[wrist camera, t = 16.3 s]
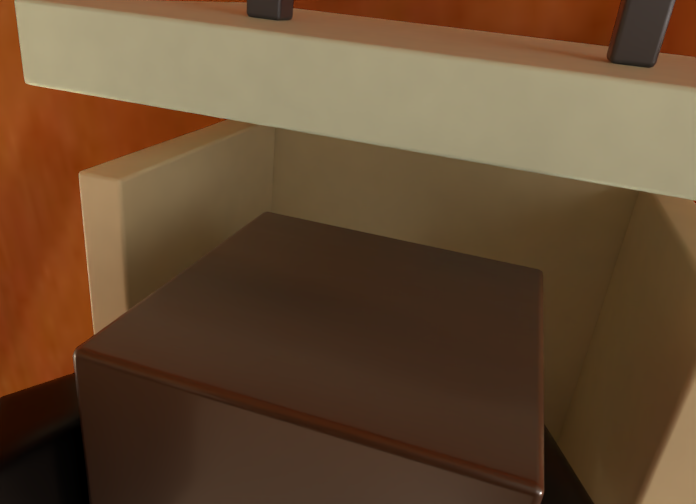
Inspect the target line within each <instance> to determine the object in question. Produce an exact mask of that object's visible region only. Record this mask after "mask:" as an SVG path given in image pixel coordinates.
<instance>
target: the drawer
mask: <svg viewBox="0 0 696 504" xmlns="http://www.w3.org/2000/svg"><path fill="white" fill-rule="evenodd" d="M675 1H676V0H621V3H620V7H619V11H618V14H617V18H616V22H615V25H614V29H613V33H612V36H611V40H610V44H609V46H601V45H593V44H584V43H576V42H568V41H560V40H552V39H543V38H535V37H527V36H519V35H510V34H502V33H494V32H486V31H478V30H469V29H461V28H453V27H445V26H436V25H428V24H420V23H412V22H403V21H395V20H387V19H379V18H371V17H362V16H354V15H346V14H338V13H329V12H321V11H313V10H305V9H297V8H293V2H294V0H247V2H206V1H162V0H15V1H14V3H15V11H16V19H17V27H18V35H19V42H20V50H21V58H22V66H23V74H24V81H25V83H27V84H29V85H34V86H39V87H45V88H51V89H57V90H62V91H68V92H74V93H80V94H85V95H91V96H97V97H103V98H108V99H114V100H120V101H126V102H132V103H137V104H143V105H149V106H155V107H160V108H166V109H172V110H178V111H183V112H189V113H195V114H201V115H206V116H212V117H218V118H224V119H228V120H225V121H222V122H219V123H216V124H213V125H211V126H208V127H205V128H202V129H199V130H196V131H194V132H191V133H188V134H185V135H182V136H179V137H177V138H174V139H171V140H168V141H165V142H162V143H159V144H157V145H154V146H151V147H148V148H145V149H142V150H140V151H137V152H134V153H131V154H128V155H125V156H122V157H120V158H117V159H114V160H111V161H108V162H105V163H103V164H100V165H97V166H94V167H91V168H88V169H85V170H83V171H80V172H79V186H80V196H81V207H82V217H83V227H84V238H85V248H86V258H87V269H88V279H89V290H90V300H91V310H92V321H93V331H94V335H95V334H96V333H98V332H99V331H100V330H102V329H103V328H105V327H106V326H107V325H109V324H110V323H111V322H113V321H114V320H116V319H117V318H118V317H120V316H121V315H122V314H124V313H125V312H127V311H128V310H129V309H131V308H132V307H134V306H135V305H136V304H138V303H139V302H140V301H142V300H143V299H145V298H146V297H147V296H149V295H150V294H151V293H153V292H154V291H156V290H157V289H158V288H160V287H161V286H163V285H164V284H165V283H167V282H168V281H169V280H171V279H172V278H174V277H175V276H176V275H178V274H179V273H180V272H182V271H183V270H185V269H186V268H187V267H189V266H190V265H192V264H193V263H194V262H196V261H197V260H198V259H200V258H201V257H203V256H204V255H205V254H207V253H208V252H210V251H211V250H212V249H214V248H215V247H216V246H218V245H219V244H221V243H222V242H223V241H225V240H226V239H227V238H229V237H230V236H232V235H233V234H234V233H236V232H237V231H239V230H240V229H241V228H243V227H244V226H245V225H247V224H248V223H250V222H251V221H252V220H254V219H255V218H256V217H258V216H259V215H261V214H262V213H263V212H272V213H277V214H281V215H286V216H291V217H295V218H300V219H305V220H310V221H314V222H319V223H324V224H328V225H333V226H338V227H342V228H347V229H352V230H356V231H361V232H366V233H371V234H375V235H380V236H385V237H389V238H394V239H399V240H403V241H408V242H413V243H418V244H422V245H427V246H432V247H436V248H441V249H446V250H450V251H455V252H460V253H465V254H469V255H474V256H479V257H483V258H488V259H493V260H497V261H502V262H507V263H512V264H516V265H521V266H526V267H530V268H535V269H539V270H541V271H542V272H543V318H544V424H545V425H546V427H547V429H548V430H549V432H550V433H551V435H552V437H553V438H554V440H555V441H556V443H557V445H558V446H559V448H560V449H561V451H562V453H563V454H564V456H565V457H566V459H567V461H568V462H569V464H570V465H571V467H572V469H573V470H574V472H575V473H576V475H577V477H578V478H579V480H580V481H581V483H582V485H583V486H584V488H585V489H586V491H587V493H588V494H589V496H590V497H591V499H592V501H593V502H594V504H696V204H695V203H694V201H693V200H695V201H696V57H691V56H683V55H675V54H667V53H660V49H661V46H662V43H663V40H664V36H665V33H666V30H667V27H668V23H669V20H670V17H671V14H672V10H673V7H674V4H675Z"/></svg>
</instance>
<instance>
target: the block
mask: <svg viewBox="0 0 696 504" xmlns="http://www.w3.org/2000/svg"><path fill="white" fill-rule="evenodd" d="M73 362H74V371H75V380H76V388H77V397H78V406H79V415H80V424H81V433H82V442H83V451H84V460H85V468H86V477H87V486H88V495H89V504H541V501H542V498H543V495H544V318H543V272H542V271H541V270H539V269H535V268H530V267H526V266H521V265H516V264H512V263H507V262H502V261H497V260H493V259H488V258H483V257H479V256H474V255H469V254H465V253H460V252H455V251H450V250H446V249H441V248H436V247H432V246H427V245H422V244H418V243H413V242H408V241H403V240H399V239H394V238H389V237H385V236H380V235H375V234H371V233H366V232H361V231H356V230H352V229H347V228H342V227H338V226H333V225H328V224H324V223H319V222H314V221H310V220H305V219H300V218H295V217H291V216H286V215H281V214H277V213H272V212H263V213H262V214H261V215H259V216H258V217H256V218H255V219H254V220H252V221H251V222H250V223H248V224H247V225H245V226H244V227H243V228H241V229H240V230H239V231H237V232H236V233H234V234H233V235H232V236H230V237H229V238H227V239H226V240H225V241H223V242H222V243H221V244H219V245H218V246H216V247H215V248H214V249H212V250H211V251H210V252H208V253H207V254H205V255H204V256H203V257H201V258H200V259H198V260H197V261H196V262H194V263H193V264H192V265H190V266H189V267H187V268H186V269H185V270H183V271H182V272H180V273H179V274H178V275H176V276H175V277H174V278H172V279H171V280H169V281H168V282H167V283H165V284H164V285H163V286H161V287H160V288H158V289H157V290H156V291H154V292H153V293H151V294H150V295H149V296H147V297H146V298H145V299H143V300H142V301H140V302H139V303H138V304H136V305H135V306H134V307H132V308H131V309H129V310H128V311H127V312H125V313H124V314H122V315H121V316H120V317H118V318H117V319H116V320H114V321H113V322H111V323H110V324H109V325H107V326H106V327H105V328H103V329H102V330H100V331H99V332H98V333H96V334H95V335H93V336H92V337H91V338H89V339H88V340H87V341H85V342H84V343H82V344H81V345H80V346H78V347H77V348H76V350H75V351H74V354H73Z"/></svg>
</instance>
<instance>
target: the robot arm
mask: <svg viewBox="0 0 696 504" xmlns="http://www.w3.org/2000/svg"><path fill="white" fill-rule="evenodd" d="M0 504H89V495H88V486H87V477H86V468H85V460H84V451H83V442H82V433H81V424H80V415H79V406H78V397H77V388H76V380H75V373H73V374H70V375H66V376H63V377H60V378H57V379H54V380H51V381H48V382H45V383H42V384H39V385H36V386H33V387H30V388H27V389H24V390H21V391H18V392H15V393H12V394H9V395H6V396H3V397H0ZM541 504H594V502H593V501H592V499H591V497H590V496H589V494H588V493H587V491H586V489H585V488H584V486H583V485H582V483H581V481H580V480H579V478H578V477H577V475H576V473H575V472H574V470H573V469H572V467H571V465H570V464H569V462H568V461H567V459H566V457H565V456H564V454H563V453H562V451H561V449H560V448H559V446H558V445H557V443H556V441H555V440H554V438H553V437H552V435H551V433H550V432H549V430H548V429H547V427H546V425H545V424H544V495H543V498H542V501H541Z"/></svg>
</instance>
